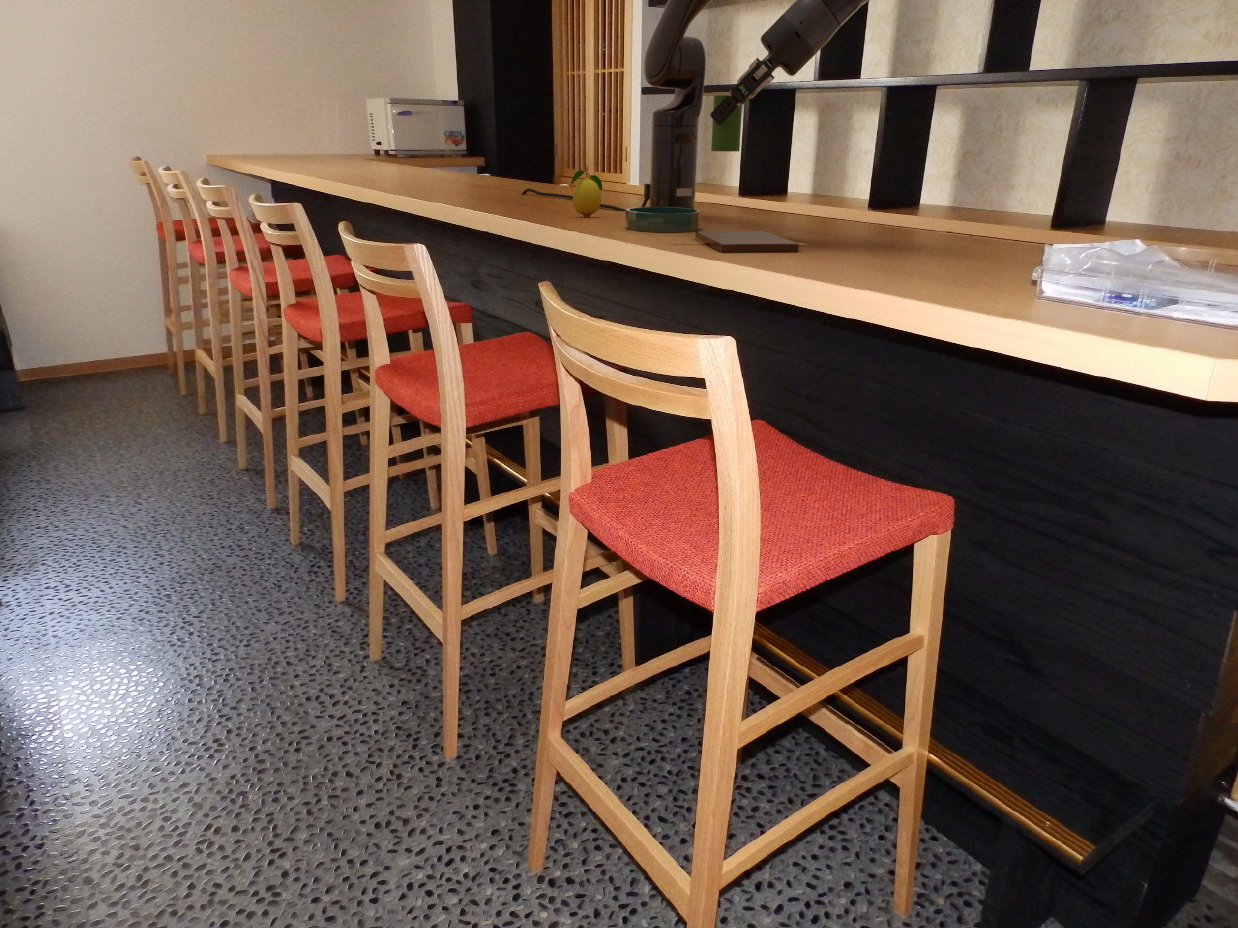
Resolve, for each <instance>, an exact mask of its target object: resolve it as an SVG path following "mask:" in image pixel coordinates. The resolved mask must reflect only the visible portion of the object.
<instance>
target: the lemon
mask: <svg viewBox="0 0 1238 928" xmlns="http://www.w3.org/2000/svg"><path fill="white" fill-rule="evenodd" d="M588 169H589V167H588V165H586V169H585V170H582V169H579V170H576V171H575V172H574V174H573V176H572V178H571V181H570V184H571V185H572V184H574V183H575V182H576V181H577V180H578V179H579V178H581V177H582V176H583V175H584V174H585V177H584V179H581V180H580V181H578V183H577V184H576V186H575V187H574V190H573V194H572V196H573V199H572V205H573V208H574V210H575V212H577V213H578V214H580V215H582V216H583V217H584V218H590V217H591V216H592V215H594V214H595V213H597V212H598V211H599V209H600V208H601V207H600V204H602V203H601V201H602V195H601V194H602V193H601V191H603V183H602V180H601V179H600V178H599V176H597V175H594V174H589V173H588Z"/></svg>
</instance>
